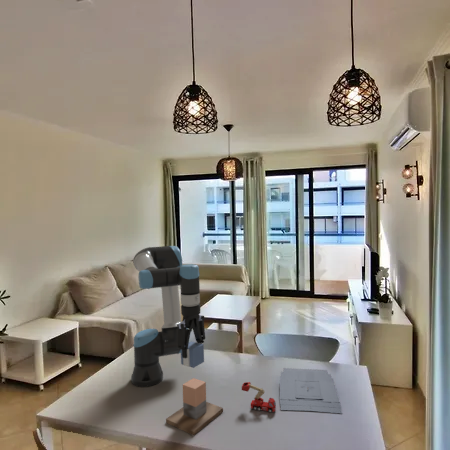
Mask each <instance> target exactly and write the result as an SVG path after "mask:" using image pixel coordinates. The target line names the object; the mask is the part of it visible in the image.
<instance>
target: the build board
mask: <svg viewBox="0 0 450 450" xmlns="http://www.w3.org/2000/svg"><path fill="white" fill-rule="evenodd" d="M182 404H183V405H182V406H183V407H181V408H180V409H178V410H177V411H175V412H174V413H173V414H170V415H169V416H168V417H166V418H165V424H168V425H170V426H172V427H174V428H177V429H179V430H181V431H182V432H185V433H188V434H189V435H191V436H195V435H197V433H199V432H200V431H201V430H203V429H204V428H205V427H206V426H207V425H208V424H210V423H212V421H213V420H215V419H216V418H217V417H219V415H221V414H222V413H223V412H224V408H223V407H221V406H219V405H216V404H213V403H211V402H208V401H207V399H206V400H205V401H203V402H202V403H201V404H199V405H198V406H197V407H194V406H192V405H189V404H187V403H184V402H183V401H182Z"/></svg>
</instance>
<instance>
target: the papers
mask: <svg viewBox="0 0 450 450" xmlns="http://www.w3.org/2000/svg"><path fill="white" fill-rule="evenodd" d="M282 370H283V371H281V372H280V375H279V404H280V405H279V406H280V410H281V411H305V412H306V411H310V412H319V413H320V412H321V413H331V414H343V411H342V406H341V401H340V397H339V395H338V391H337V387H336V383H335V381H334V378H333V377H332V374H331V373H328V370H327V369H314V368H313V369H312V368H311V369H309V368H308V369H307V368H292V367H290V368H289V367H287V368H286V367H283V369H282Z"/></svg>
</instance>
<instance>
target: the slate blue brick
mask: <svg viewBox="0 0 450 450" xmlns="http://www.w3.org/2000/svg"><path fill="white" fill-rule="evenodd" d="M204 347H205V346H204V343H202V344H200V343H196V341H189V344H188V349H189V355H190V366H189V368H193V369H194V368H197V367H198V366H199V365H201V364H203V363H204V362H205V350H204V349H205V348H204ZM180 365H182V366H184V365H183V357H182V350H181V353H180Z"/></svg>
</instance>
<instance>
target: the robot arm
mask: <svg viewBox="0 0 450 450" xmlns="http://www.w3.org/2000/svg"><path fill="white" fill-rule="evenodd" d="M132 262H133V266H134V269H136V270H137V271H138V286H139V288H140V289H141V290H144V289H145V290H146V289H148V290H150V289H158V288H161V301H162V312H163V322H164V323H163V325H162V326H161V331H159V330H158V329H157V328H146V329H143V330H141V331H138V332H137V333H136V334H135V335H134V337H133V354H134V356H133V358H134V359H133V360H134V362H133V363H134V367H133V370H132V374H131V384H132V385H134V386H136V387H141V388H142V387H143V388H144V387H152V386H155V385H157V384H159V383H160V382H162V381H163V379H164V371H163V370H162V369H163V368H162V366H161V363H160V357H164V356H165V357H166V356H171V355H172V356H173V355H179V354H181V350H182V357H183V365H182V366H185V367H189V366H190V355H189V349H188V344H189V342H190V338H191V333H192V332H193V335H194V339H195V342H196V343H200V344H204V343H205V341H204V340H205V339H206V331H205V316H204V315H201V304H200V303H201V295H200V293H201V290H200V288H201V287H200V285H201V284H200V270H199V269H200V267H199V265H197V264H193V263H187V264H183V257H182V253H181V250H180V248H179V247H178V246H177V245H167V246H166V245H165V246H153V247H152V246H149V247H146V248H145V247H144V248H143V249H141V250H139V251H137V253H136V254H135V255H134V256H133V261H132ZM179 287H180V292H179ZM189 368H190V367H189Z"/></svg>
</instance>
